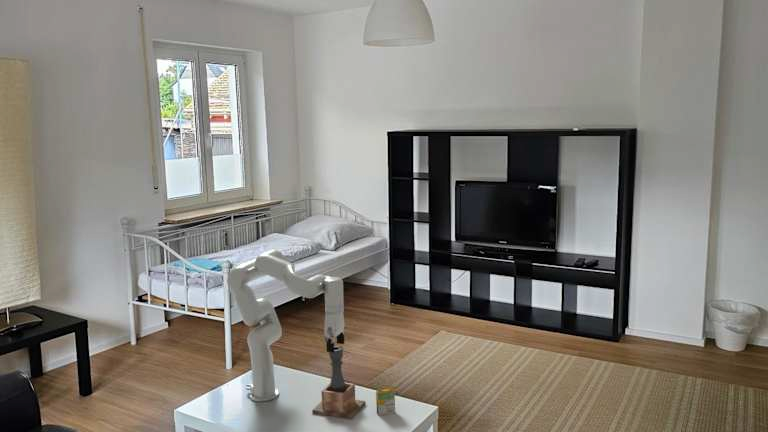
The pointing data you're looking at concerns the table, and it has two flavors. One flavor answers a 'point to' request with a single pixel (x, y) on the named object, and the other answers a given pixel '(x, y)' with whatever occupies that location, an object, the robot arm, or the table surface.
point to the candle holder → (337, 370)
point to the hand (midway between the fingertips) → (335, 347)
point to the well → (339, 403)
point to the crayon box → (385, 401)
